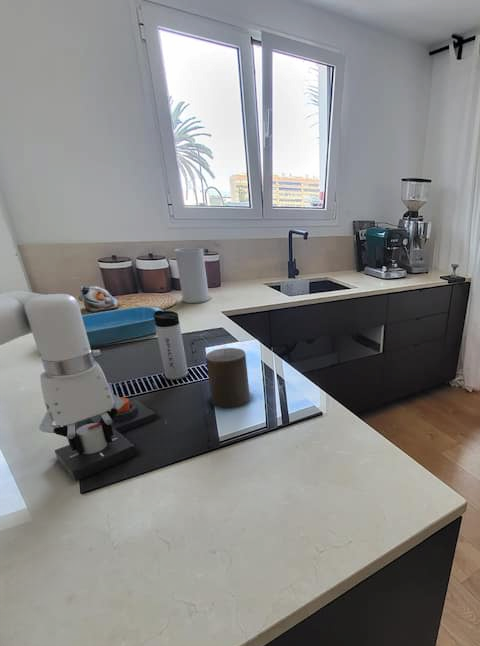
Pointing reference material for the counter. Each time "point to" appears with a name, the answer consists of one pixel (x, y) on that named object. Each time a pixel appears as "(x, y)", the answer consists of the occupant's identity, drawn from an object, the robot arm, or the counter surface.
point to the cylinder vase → (192, 275)
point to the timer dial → (92, 438)
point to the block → (129, 417)
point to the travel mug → (171, 344)
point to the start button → (124, 406)
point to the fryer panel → (95, 457)
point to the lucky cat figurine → (98, 299)
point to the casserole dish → (119, 324)
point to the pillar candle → (228, 377)
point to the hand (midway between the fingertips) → (93, 444)
